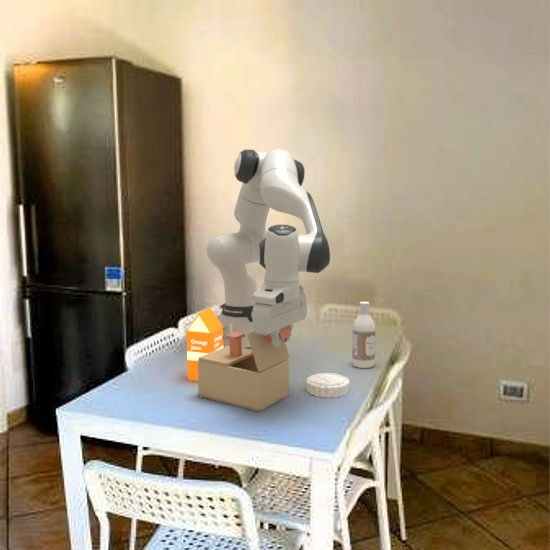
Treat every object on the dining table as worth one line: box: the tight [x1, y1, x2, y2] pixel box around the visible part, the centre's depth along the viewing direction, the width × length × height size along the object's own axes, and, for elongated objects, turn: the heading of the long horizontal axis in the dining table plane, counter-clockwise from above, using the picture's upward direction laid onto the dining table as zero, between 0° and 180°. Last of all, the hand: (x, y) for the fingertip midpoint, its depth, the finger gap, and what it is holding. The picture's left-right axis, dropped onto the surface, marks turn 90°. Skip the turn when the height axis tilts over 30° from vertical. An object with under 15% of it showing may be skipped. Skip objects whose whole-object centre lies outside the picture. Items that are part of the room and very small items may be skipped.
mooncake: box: [305, 372, 351, 399], centre depth 169 cm, size 12×12×4 cm
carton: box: [197, 356, 290, 413], centre depth 165 cm, size 20×14×10 cm
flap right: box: [247, 326, 292, 372], centre depth 157 cm, size 10×14×7 cm
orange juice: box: [186, 307, 223, 382], centre depth 180 cm, size 8×9×20 cm
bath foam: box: [351, 301, 376, 369], centre depth 189 cm, size 7×7×20 cm
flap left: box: [198, 332, 253, 367], centre depth 166 cm, size 10×14×7 cm
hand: (281, 343), depth 156 cm, fingers closed on flap right, 3 cm apart
